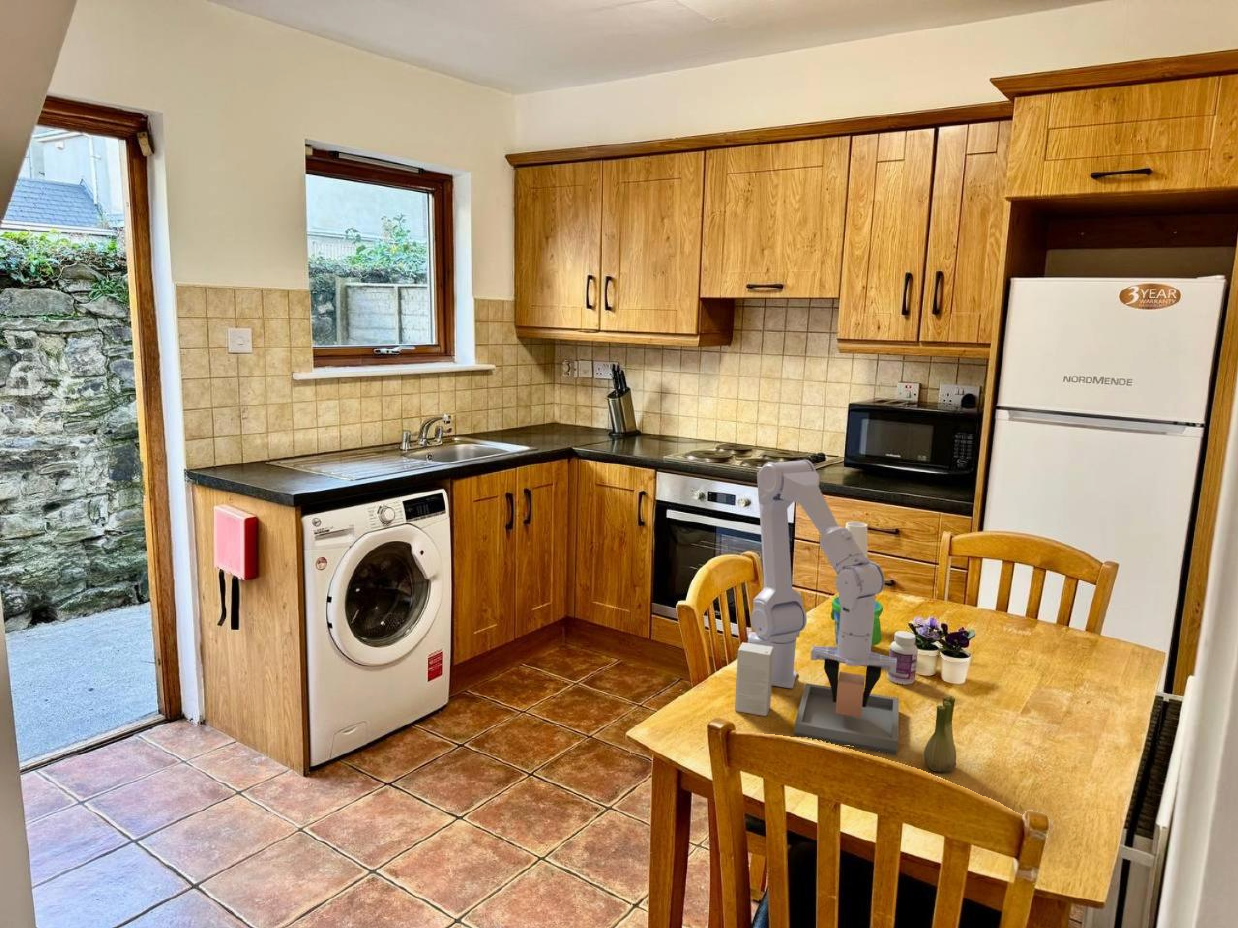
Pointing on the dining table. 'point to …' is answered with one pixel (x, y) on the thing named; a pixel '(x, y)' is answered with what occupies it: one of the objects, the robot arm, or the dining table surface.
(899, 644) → the pill bottle
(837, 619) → the snack cup
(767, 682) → the skincare box
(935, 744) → the fennel bulb
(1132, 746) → the dining table surface
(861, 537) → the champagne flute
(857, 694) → the terracotta block
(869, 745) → the grey bin
